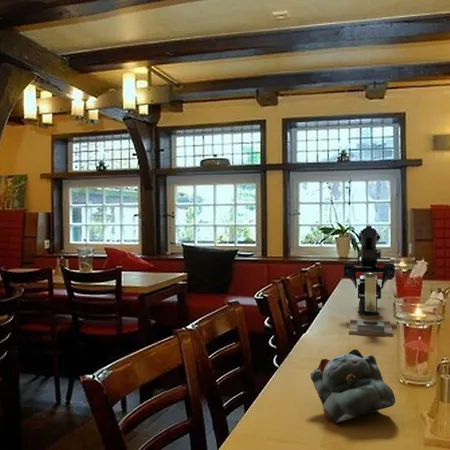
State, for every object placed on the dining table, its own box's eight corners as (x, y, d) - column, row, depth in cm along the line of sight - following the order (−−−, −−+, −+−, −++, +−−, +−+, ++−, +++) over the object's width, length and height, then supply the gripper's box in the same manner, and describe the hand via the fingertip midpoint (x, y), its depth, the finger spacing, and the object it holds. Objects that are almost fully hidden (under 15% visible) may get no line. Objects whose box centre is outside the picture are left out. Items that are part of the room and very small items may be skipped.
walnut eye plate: (350, 322, 197) (350, 313, 197) (389, 323, 193) (389, 315, 193) (349, 334, 177) (349, 325, 177) (393, 336, 174) (393, 327, 174)
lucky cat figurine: (320, 427, 100) (301, 354, 106) (326, 429, 111) (309, 363, 117) (399, 408, 98) (375, 335, 104) (398, 412, 109) (376, 345, 115)
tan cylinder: (364, 309, 183) (364, 272, 182) (376, 309, 182) (376, 272, 181) (364, 311, 179) (364, 273, 179) (376, 311, 178) (376, 274, 178)
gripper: (343, 241, 204) (342, 273, 194) (394, 242, 199) (396, 274, 189) (344, 260, 212) (343, 292, 201) (393, 261, 207) (395, 293, 197)
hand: (369, 287), depth 197 cm, fingers open, 9 cm apart
